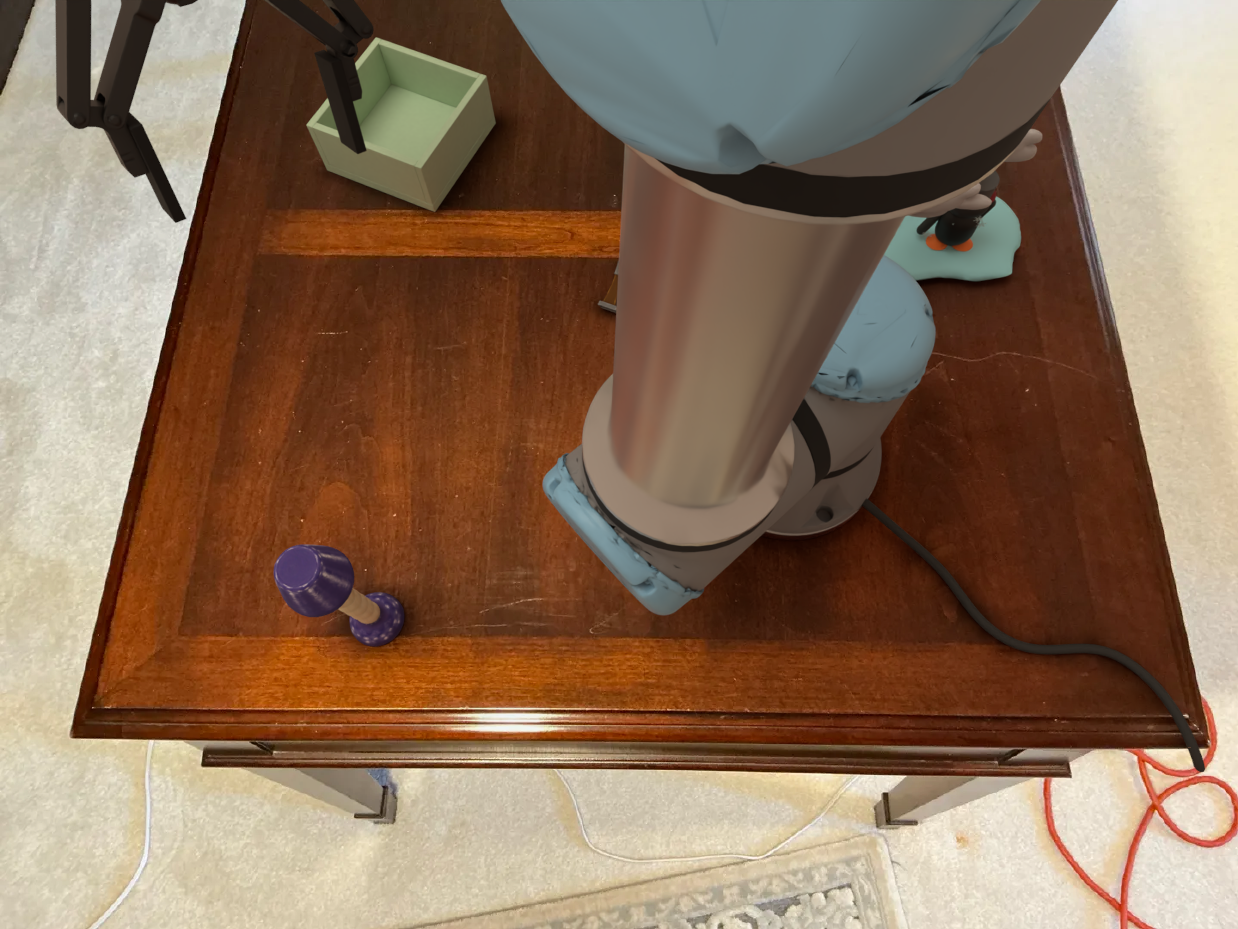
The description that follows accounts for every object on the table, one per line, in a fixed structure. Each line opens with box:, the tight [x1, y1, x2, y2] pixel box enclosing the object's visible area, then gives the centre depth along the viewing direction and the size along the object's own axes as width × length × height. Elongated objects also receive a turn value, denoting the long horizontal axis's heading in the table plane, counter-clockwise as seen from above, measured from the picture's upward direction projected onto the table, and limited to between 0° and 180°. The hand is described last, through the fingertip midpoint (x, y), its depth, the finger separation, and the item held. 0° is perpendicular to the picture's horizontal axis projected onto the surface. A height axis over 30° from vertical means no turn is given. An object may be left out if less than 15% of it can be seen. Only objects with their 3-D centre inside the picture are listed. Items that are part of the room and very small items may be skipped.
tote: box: [306, 37, 497, 213], centre depth 83 cm, size 12×12×6 cm
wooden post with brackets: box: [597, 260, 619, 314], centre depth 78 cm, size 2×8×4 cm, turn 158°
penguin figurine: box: [884, 128, 1043, 282], centre depth 73 cm, size 20×11×15 cm, turn 90°
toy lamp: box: [273, 543, 405, 648], centre depth 59 cm, size 5×5×17 cm
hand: (268, 179), depth 61 cm, fingers open, 13 cm apart
